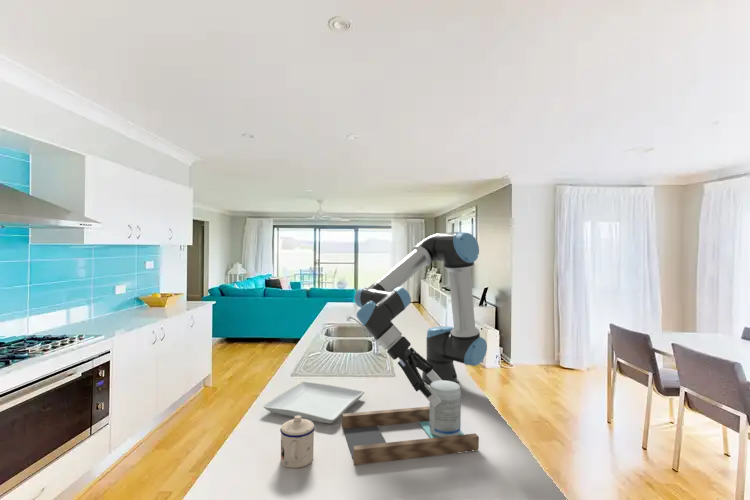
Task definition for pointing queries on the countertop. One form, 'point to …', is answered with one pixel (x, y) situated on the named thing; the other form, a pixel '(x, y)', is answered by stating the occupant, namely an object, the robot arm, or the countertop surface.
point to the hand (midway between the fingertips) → (440, 395)
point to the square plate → (314, 402)
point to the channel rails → (403, 448)
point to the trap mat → (363, 436)
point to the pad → (427, 428)
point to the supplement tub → (446, 409)
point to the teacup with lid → (297, 442)
